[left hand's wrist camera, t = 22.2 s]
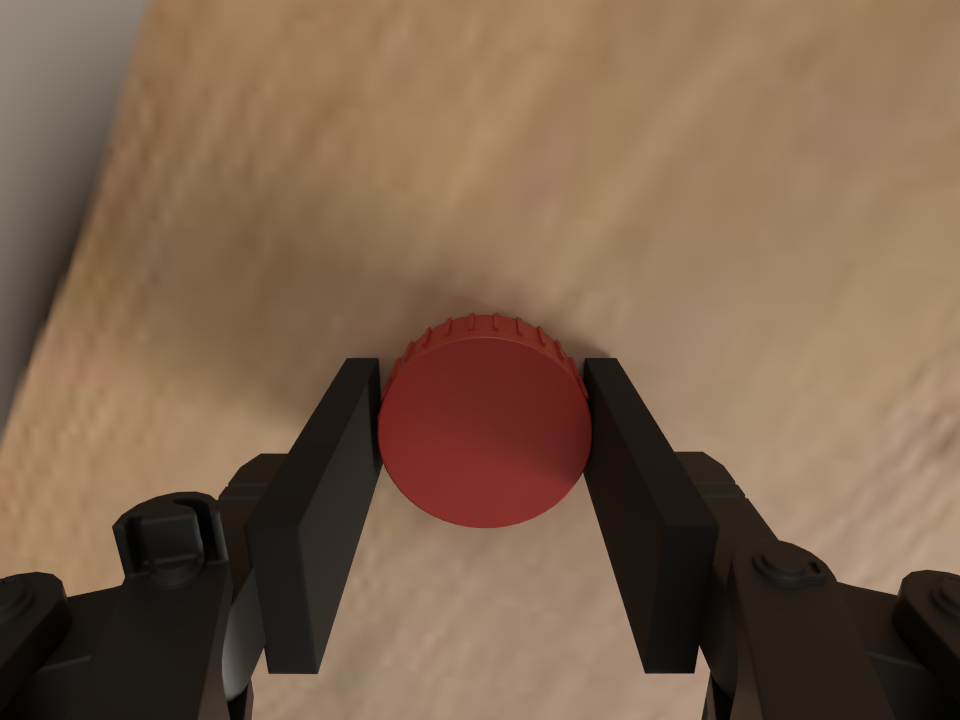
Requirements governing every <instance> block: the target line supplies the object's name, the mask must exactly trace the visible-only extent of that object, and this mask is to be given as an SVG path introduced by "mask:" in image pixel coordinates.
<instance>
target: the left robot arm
mask: <svg viewBox="0 0 960 720" xmlns="http://www.w3.org/2000/svg"><path fill="white" fill-rule="evenodd" d="M584 385H585V387H586V390H587V393H588V395H589V399H586V401H587V403H588V407H589V411H590V414H591V420H592V445H591V450H590V455H589V458H588V461H587V464H586V466H585V468H584V470H583V474H584V477H585V480H586V483H587V487H588V490H589V493H590V496H591V500H592V503H593V506H594V509H595V512H596V516H597V519H598V522H599V525H600V529H601V532H602V535H603V538H604V542H605V545H606V548H607V551H608V555H609V558H610V561H611V564H612V568H613V571H614V574H615V577H616V581H617V584H618V587H619V590H620V594H621V597H622V600H623V603H624V607H625V610H626V613H627V616H628V620H629V623H630V626H631V629H632V632H633V636H634V639H635V642H636V645H637V649H638V652H639V655H640V658H641V662H642V665H643V668H644V671H645V673H694V672H695V666H696V660H697V655H698V649H699V645H700V648H701V650H702V652H703V654H704V657H705V659H706V661H707V664H708V666H709V668H710V677H709V682H708V687H707V693H706V698H705V704H704V709H703V714H702V720H960V576H959V575H956V574H952V573H948V572H941V571H933V570H923V571H916V572H911V573H910V574H909V575H907V576H906V577H905V578H903V579H902V583H901V586H900V589H899V592H898V595H893V594H888V593H884V592H879V591H874V590H869V589H865V588H860V587H855V586H851V585H847V584H844V583H840V582H837V580H836V578H835V576H834V575H833V573H832V572H831V570H830V569H829V568H828V566H827V565H826V564H825V563H824V562H823V561H822V560H820V559H819V558H818V557H816V556H815V555H814V554H812V553H811V552H809V551H807V550H805V549H803V548H800V547H798V546H796V545H794V544H792V543H788V542H784V541H780V540H778V539H777V537H776V536H775V535H774V533H773V532H772V531H771V529H770V528H769V526H768V525H767V524H766V522H765V521H764V520H763V518H762V517H761V516H760V514H759V513H758V512H757V510H756V509H755V508H754V506H753V505H752V503H751V502H750V501H749V499H748V498H745V494H744V493H743V491H742V490H741V489H740V487H739V486H738V485H735V481H734V479H733V478H732V476H731V475H730V474H729V472H728V471H727V470H726V468H725V467H724V466H723V465H722V464H720V463H719V462H717V461H716V460H714V459H713V458H711V457H710V456H708V455H707V454H705V453H704V452H674V451H673V449H672V448H671V446H670V444H669V443H668V441H667V439H666V438H665V436H664V435H663V433H662V431H661V430H660V428H659V426H658V425H657V423H656V422H655V420H654V418H653V417H652V415H651V413H650V412H649V410H648V409H647V407H646V405H645V404H644V402H643V401H642V399H641V397H640V396H639V394H638V392H637V391H636V389H635V388H634V386H633V384H632V383H631V381H630V379H629V378H628V376H627V375H626V373H625V371H624V370H623V368H622V366H621V365H620V363H619V362H618V360H617V358H585V367H584ZM380 398H381V393H380V378H379V362H378V358H347V359H346V361H345V362H344V364H343V365H342V367H341V369H340V370H339V372H338V374H337V375H336V377H335V378H334V380H333V382H332V383H331V385H330V387H329V388H328V390H327V391H326V393H325V395H324V396H323V398H322V399H321V401H320V403H319V404H318V406H317V408H316V409H315V411H314V412H313V414H312V416H311V417H310V419H309V421H308V422H307V424H306V425H305V427H304V429H303V430H302V432H301V433H300V435H299V437H298V438H297V440H296V442H295V443H294V445H293V446H292V448H291V450H290V451H289V453H288V454H260V455H258V456H257V457H255V458H254V459H252V460H251V461H249V462H248V463H246V464H245V465H243V466H242V467H240V468H239V470H238V471H237V472H236V474H235V475H234V477H233V478H232V479H231V481H230V482H229V483H228V487H225V489H224V490H223V491H222V493H221V494H220V496H219V499H218V500H215V499H214V498H213V497H212V496H210V495H208V494H204V493H199V492H176V493H171V494H167V495H162V496H158V497H155V498H152V499H150V500H148V501H145V502H143V503H140V504H138V505H136V506H135V507H133V508H132V509H130V510H129V511H127V512H126V513H124V514H123V515H121V517H120V518H119V519H118V520H117V521H116V523H115V524H114V525H113V526H112V529H113V532H114V536H115V540H116V544H117V547H118V551H119V555H120V559H121V563H122V566H123V570H124V574H125V579H124V581H123V584H122V585H121V586H117V587H113V588H109V589H104V590H100V591H95V592H90V593H85V594H81V595H76V596H71V597H67V596H66V593H65V590H64V587H63V583H62V581H61V580H60V579H58V578H57V577H56V576H55V575H53V574H48V573H41V572H32V573H24V574H16V575H13V576H9V577H5V578H3V579H0V720H251V718H252V708H253V699H254V695H253V688H252V682H251V676H252V674H253V671H254V669H255V667H256V664H257V662H258V660H259V657H260V655H261V653H262V650H263V648H264V649H265V655H266V661H267V667H268V673H269V674H318V671H319V668H320V665H321V662H322V658H323V655H324V652H325V649H326V645H327V642H328V639H329V636H330V632H331V629H332V626H333V623H334V620H335V616H336V613H337V610H338V607H339V603H340V600H341V597H342V594H343V590H344V587H345V584H346V581H347V577H348V574H349V571H350V568H351V565H352V561H353V558H354V555H355V552H356V548H357V545H358V542H359V539H360V535H361V532H362V529H363V526H364V523H365V519H366V516H367V513H368V510H369V506H370V503H371V500H372V497H373V493H374V490H375V487H376V484H377V481H378V477H379V474H380V471H381V468H382V464H383V461H382V458H381V454H380V450H379V446H378V437H377V425H378V421H377V416H378V414H379V411H380V408H381V400H380Z"/></svg>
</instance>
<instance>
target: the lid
mask: <svg viewBox="0 0 960 720" xmlns="http://www.w3.org/2000/svg"><path fill="white" fill-rule="evenodd" d="M586 399H589V395H588V393H587V390H586V387H585V385H584V382H583V379H582V377H581V376H579V373H578V371H577V368H576V365H575V363H574V360H573V358H572V357H570V358H568V357H567V355H566V354H565V353H564V352H563V350H562V347H561V344H560V342H559V341H558V340H556V341H555V342H554V341H553V340H552V339H551V338H550V337H548V336H547V335H546V334H544V333H543V329H542V328H541V327H539V326H538V328H537V329H536V328H534V327H532V326H530V325H528V324H526V323H524V322H522V320H521V318H519V317H517V318H516V320H515V319H511V318H507V317H502V316H498V313H493V315H476V316H475V314H474V313H470V316H469V317H463V318H459V319H455V320H452V318H448V319H447V321H446V323H444V324H442V325H440V326H437V327H435V328H434V329H431V328H430V327H429V328H428V329H426V332H425V334H424V335H423V336H422V337H421V338H419V339H418V340H417V341H416V342H415V343H414V342H413V341H411V342H410V343H409V345H408V348H407V350H406V353H405V355H404V356H403V357H402V359H400V358H398V359H397V360H396V363H395V365H394V367H393V370H392V372H391V374H390V377H389V378H388V381H387V383H386V385H385V388H384V390H383V392H382V395H381V398H380V400H383V402H382V405H381V408H380V411H379V414H378V416H377V421H378V425H377V437H378V446H379V450H380V454H381V458H382V461H383V463H384V466H385V468H386V470H387V472H388V474H389V476H390V477H391V479H392V481H393V482H394V483H395V485H396V486H397V487H398V489H399V490H400V491H401V492H402V493H403V494H404V495H405V496H406V497H407V498H408V499H409V500H410V501H411V502H412V503H414V504H415V505H416V506H418V507H419V508H420V509H422V510H424V511H425V512H427V513H429V514H430V515H432V516H434V517H437V518H439V519H441V520H443V521H447V522H450V523H453V524H456V525H461V526H466V527H475V528H497V527H504V526H510V525H514V524H518V523H522V522H524V521H527V520H530V519H532V518H534V517H536V516H538V515H540V514H542V513H544V512H546V511H547V510H549V509H550V508H552V507H553V506H555V505H556V504H557V503H558V502H559V501H561V500H562V499H563V498H564V497H565V496H566V495H567V494H568V493H569V491H570V490H571V489H572V488H573V487H574V485H575V484H576V482H577V481H578V479H579V478H580V476H581V474H582V472H583V470H584V468H585V466H586V464H587V461H588V458H589V455H590V450H591V445H592V420H591V414H590V411H589V407H588V403H587V401H586Z"/></svg>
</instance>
